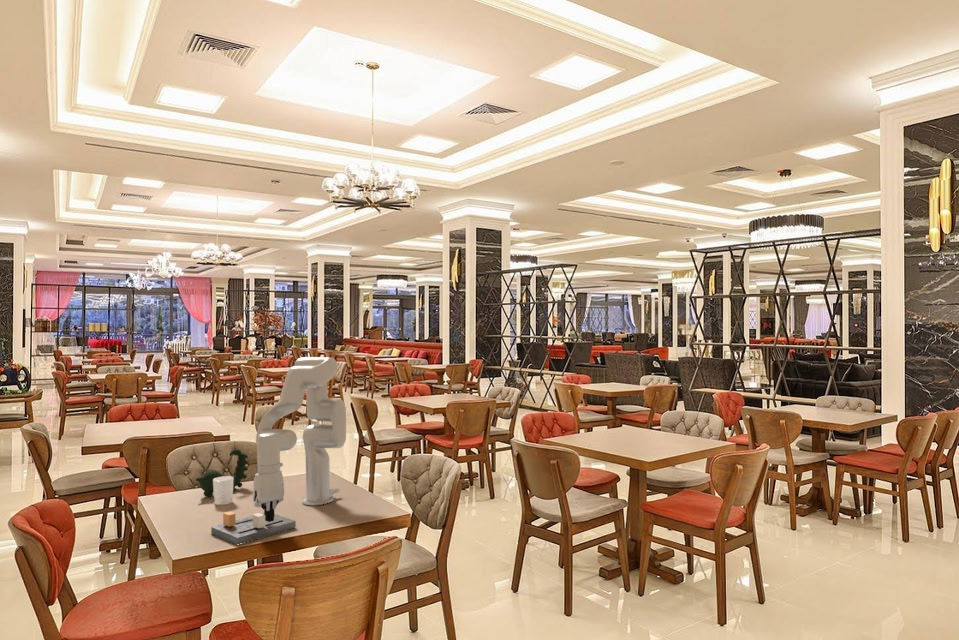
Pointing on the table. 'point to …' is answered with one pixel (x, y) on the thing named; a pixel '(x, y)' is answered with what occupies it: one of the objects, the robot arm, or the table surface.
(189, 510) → the table surface
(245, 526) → the console
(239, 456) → the toy figurine
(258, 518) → the fader
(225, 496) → the white cup
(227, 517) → the fader
